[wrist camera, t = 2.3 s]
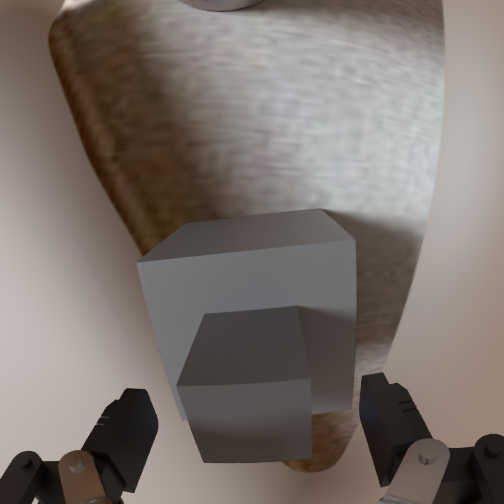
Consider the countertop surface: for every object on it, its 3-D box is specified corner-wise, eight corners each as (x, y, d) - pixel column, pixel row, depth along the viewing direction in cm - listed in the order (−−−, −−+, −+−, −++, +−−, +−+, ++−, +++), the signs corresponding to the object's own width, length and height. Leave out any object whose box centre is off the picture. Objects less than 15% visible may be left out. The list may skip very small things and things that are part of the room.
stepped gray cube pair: (184, 223, 22) (77, 312, 8) (320, 208, 21) (402, 284, 8) (207, 341, 24) (160, 490, 11) (326, 330, 23) (372, 480, 10)
